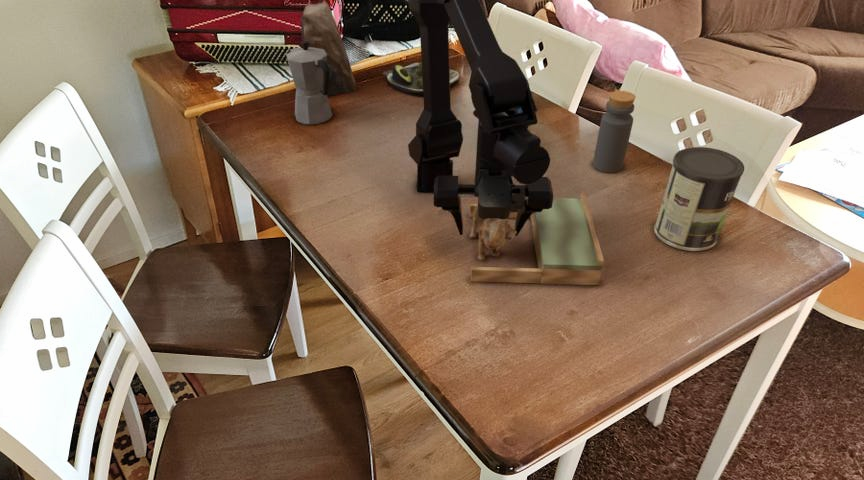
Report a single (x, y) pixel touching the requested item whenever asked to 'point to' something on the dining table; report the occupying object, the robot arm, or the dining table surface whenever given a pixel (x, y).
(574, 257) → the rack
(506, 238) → the lion figurine
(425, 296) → the dining table surface
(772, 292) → the dining table surface
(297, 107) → the coffeepot
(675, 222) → the coffee can
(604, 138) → the bottle
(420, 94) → the salad plate
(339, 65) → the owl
